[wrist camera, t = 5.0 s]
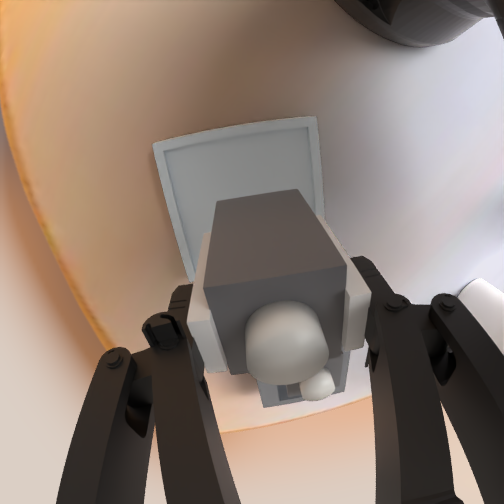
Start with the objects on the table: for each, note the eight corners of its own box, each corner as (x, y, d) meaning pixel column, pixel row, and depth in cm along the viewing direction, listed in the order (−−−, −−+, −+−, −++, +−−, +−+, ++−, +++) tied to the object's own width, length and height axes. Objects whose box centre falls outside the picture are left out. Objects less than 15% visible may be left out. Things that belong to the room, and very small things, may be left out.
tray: (156, 141, 20) (151, 144, 19) (311, 115, 20) (316, 116, 19) (191, 273, 26) (189, 282, 25) (321, 251, 26) (326, 259, 25)
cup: (451, 331, 35) (490, 387, 24) (441, 300, 31) (491, 364, 20) (491, 295, 32) (535, 344, 22) (487, 258, 29) (542, 310, 18)
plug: (216, 201, 16) (198, 321, 7) (297, 188, 16) (364, 293, 7) (231, 269, 18) (231, 405, 10) (303, 258, 18) (350, 385, 10)
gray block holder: (238, 284, 27) (244, 374, 18) (341, 265, 27) (387, 343, 18) (260, 382, 35) (269, 454, 25) (335, 367, 35) (358, 434, 25)
